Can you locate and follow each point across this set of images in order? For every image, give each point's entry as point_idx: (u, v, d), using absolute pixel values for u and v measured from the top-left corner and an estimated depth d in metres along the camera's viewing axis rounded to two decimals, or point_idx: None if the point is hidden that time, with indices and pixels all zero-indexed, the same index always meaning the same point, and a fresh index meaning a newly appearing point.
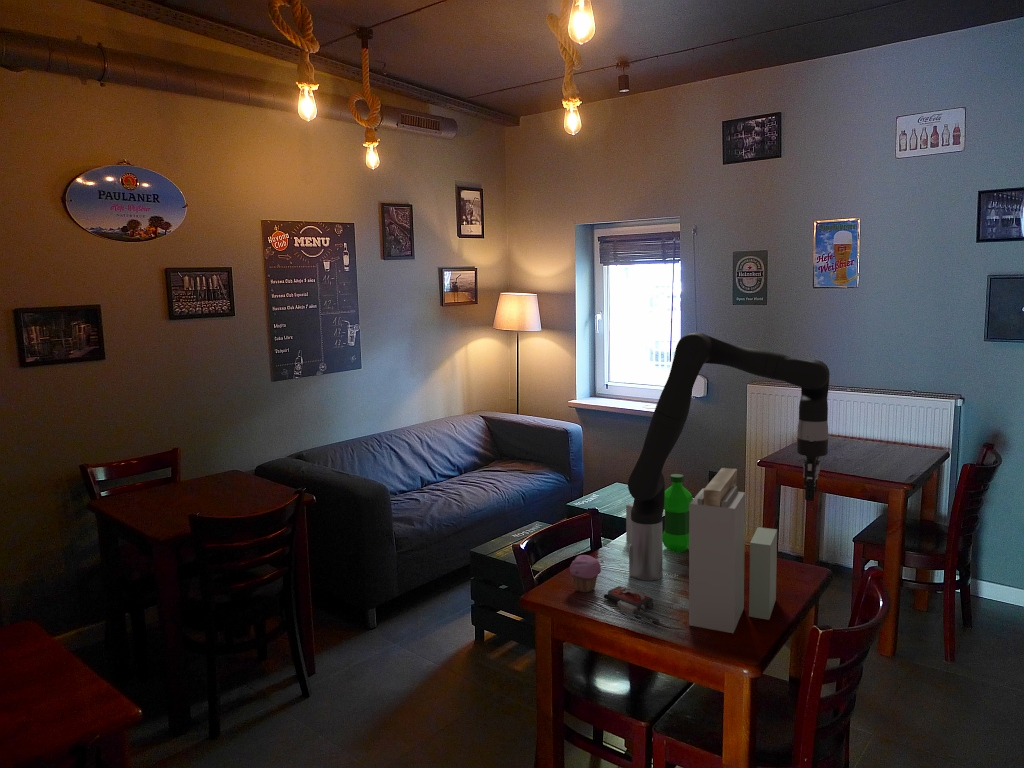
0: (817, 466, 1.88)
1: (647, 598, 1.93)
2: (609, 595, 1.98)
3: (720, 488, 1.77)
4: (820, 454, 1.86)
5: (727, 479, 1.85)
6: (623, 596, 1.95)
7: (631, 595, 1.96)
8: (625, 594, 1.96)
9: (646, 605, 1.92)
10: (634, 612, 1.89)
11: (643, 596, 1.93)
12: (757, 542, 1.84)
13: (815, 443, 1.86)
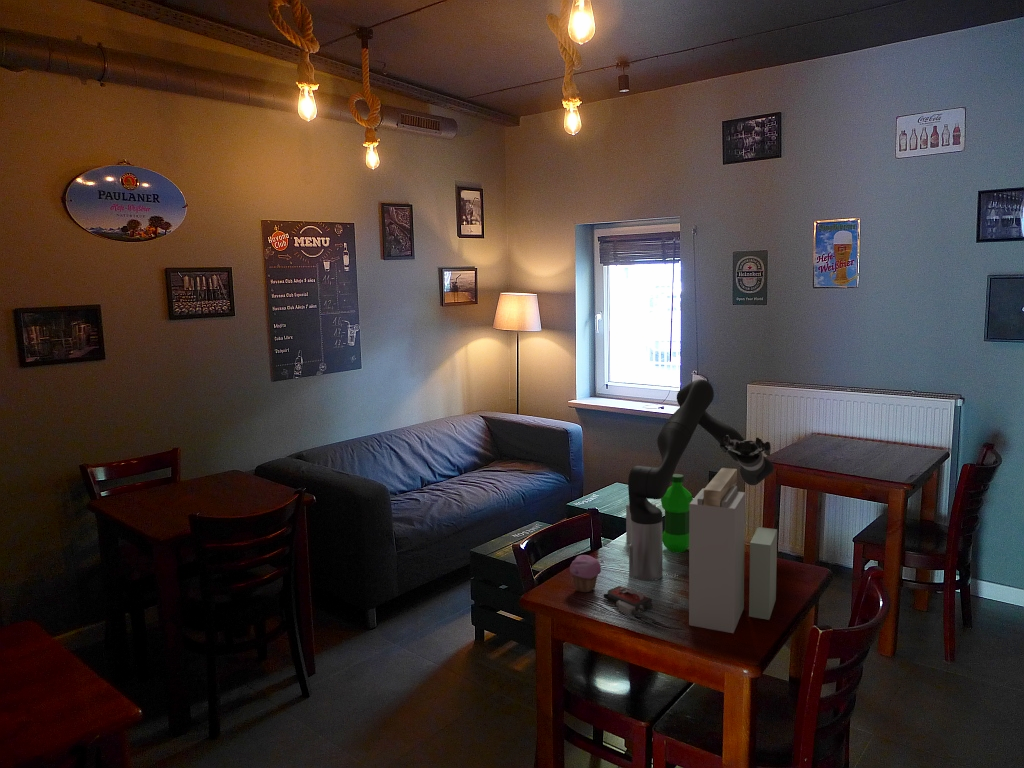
0: None
1: (646, 598, 1.93)
2: (608, 595, 1.98)
3: (720, 488, 1.77)
4: (757, 459, 2.17)
5: (727, 479, 1.85)
6: (622, 596, 1.95)
7: (630, 595, 1.96)
8: (624, 594, 1.96)
9: (645, 605, 1.92)
10: (632, 612, 1.89)
11: (642, 596, 1.93)
12: (757, 542, 1.84)
13: (761, 458, 2.20)
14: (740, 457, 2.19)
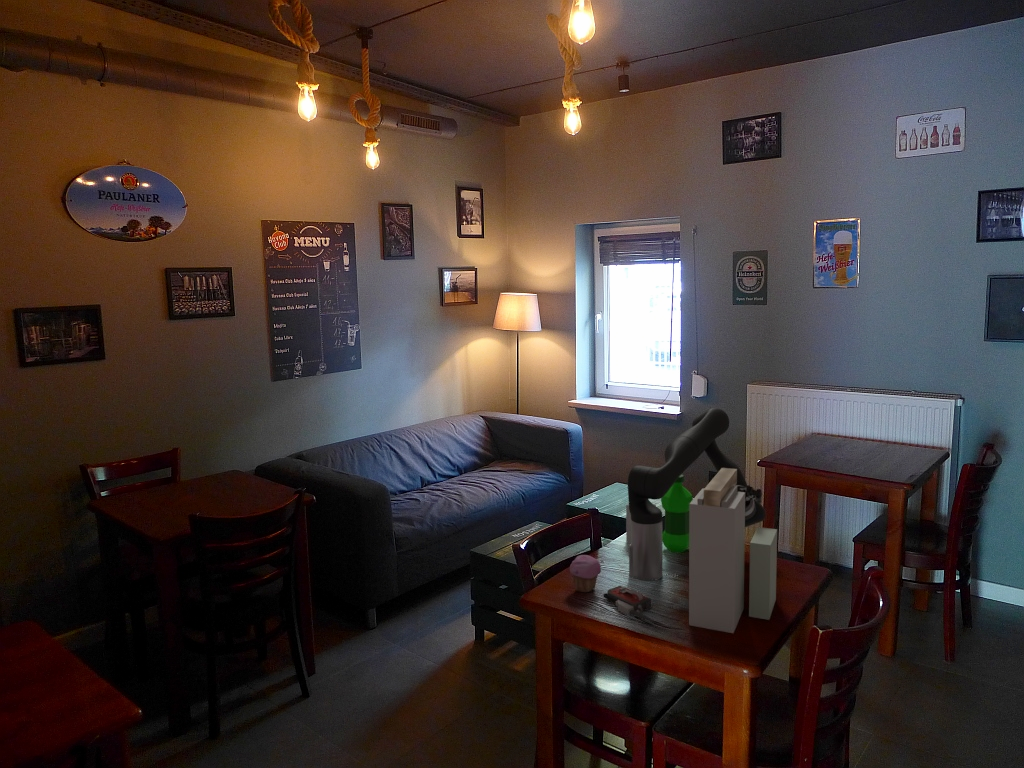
0: None
1: (645, 599, 1.93)
2: (608, 594, 1.98)
3: (720, 488, 1.77)
4: (748, 506, 2.09)
5: (727, 479, 1.85)
6: (621, 596, 1.96)
7: (629, 595, 1.96)
8: (624, 594, 1.96)
9: (644, 605, 1.92)
10: (630, 612, 1.89)
11: (641, 596, 1.93)
12: (757, 542, 1.84)
13: (752, 504, 2.12)
14: None
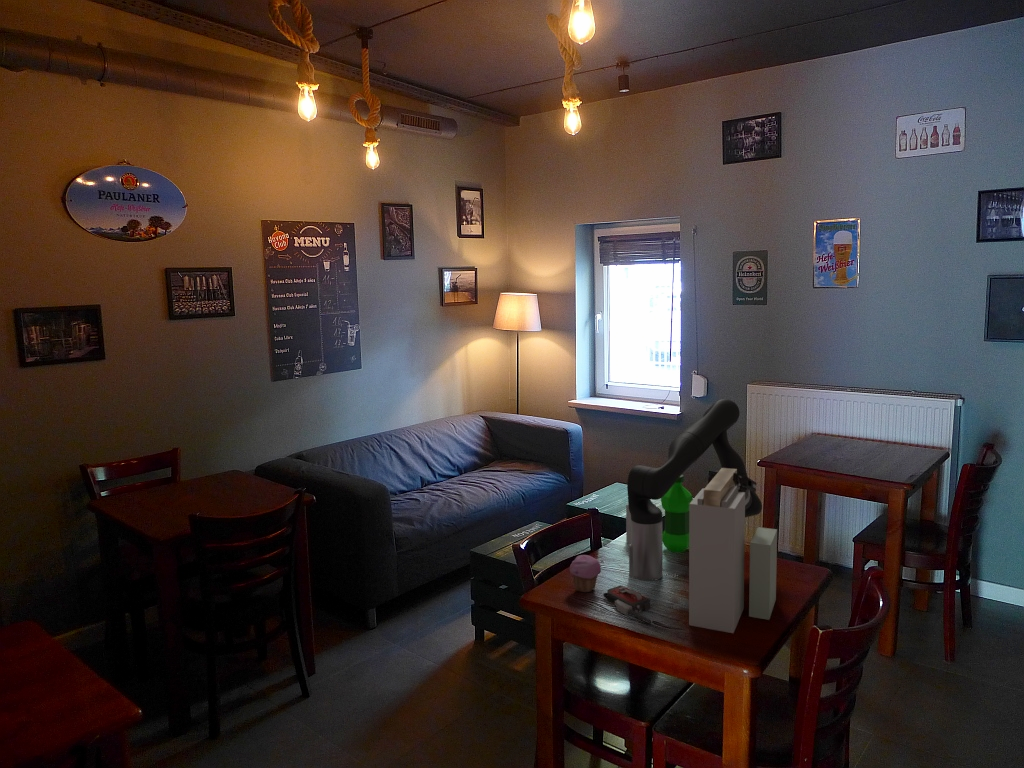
0: None
1: (644, 599, 1.93)
2: (608, 594, 1.99)
3: (720, 488, 1.77)
4: None
5: (727, 479, 1.85)
6: (621, 595, 1.96)
7: (629, 595, 1.96)
8: (623, 594, 1.97)
9: (642, 606, 1.92)
10: (628, 612, 1.90)
11: (640, 596, 1.93)
12: (757, 542, 1.84)
13: (747, 495, 2.03)
14: None
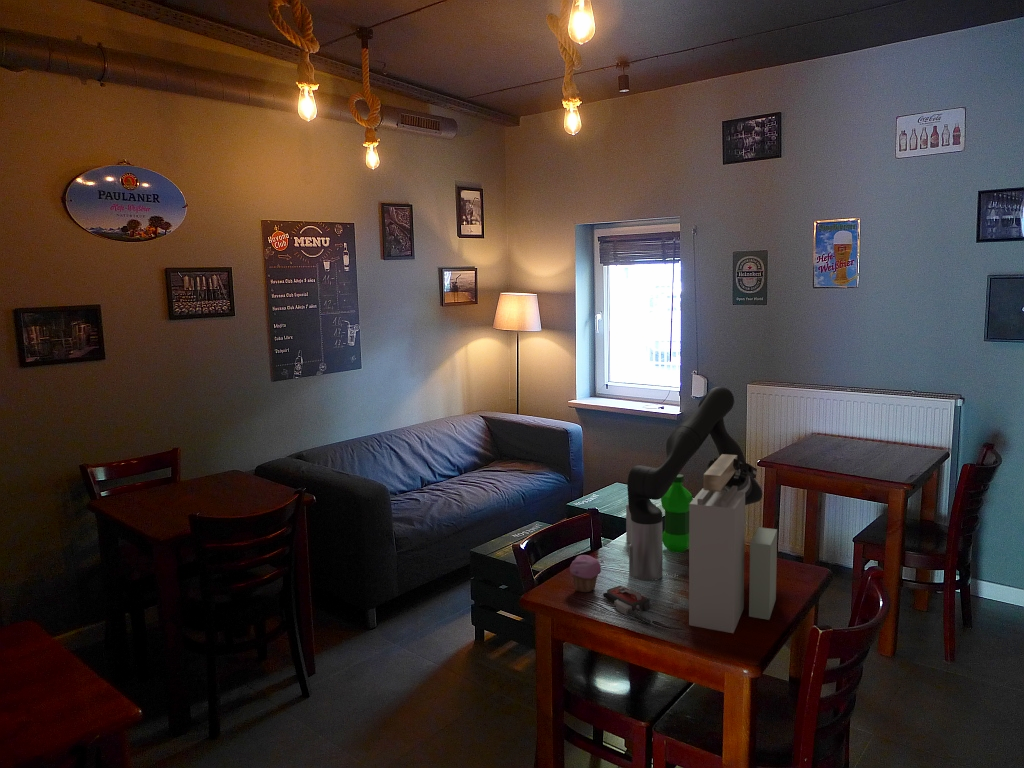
0: None
1: (644, 599, 1.93)
2: (608, 594, 1.99)
3: (720, 473, 1.77)
4: (743, 483, 2.00)
5: (727, 464, 1.85)
6: (620, 595, 1.96)
7: (628, 595, 1.96)
8: (623, 594, 1.97)
9: (642, 606, 1.92)
10: (628, 612, 1.90)
11: (639, 597, 1.93)
12: (757, 542, 1.84)
13: (747, 482, 2.02)
14: None
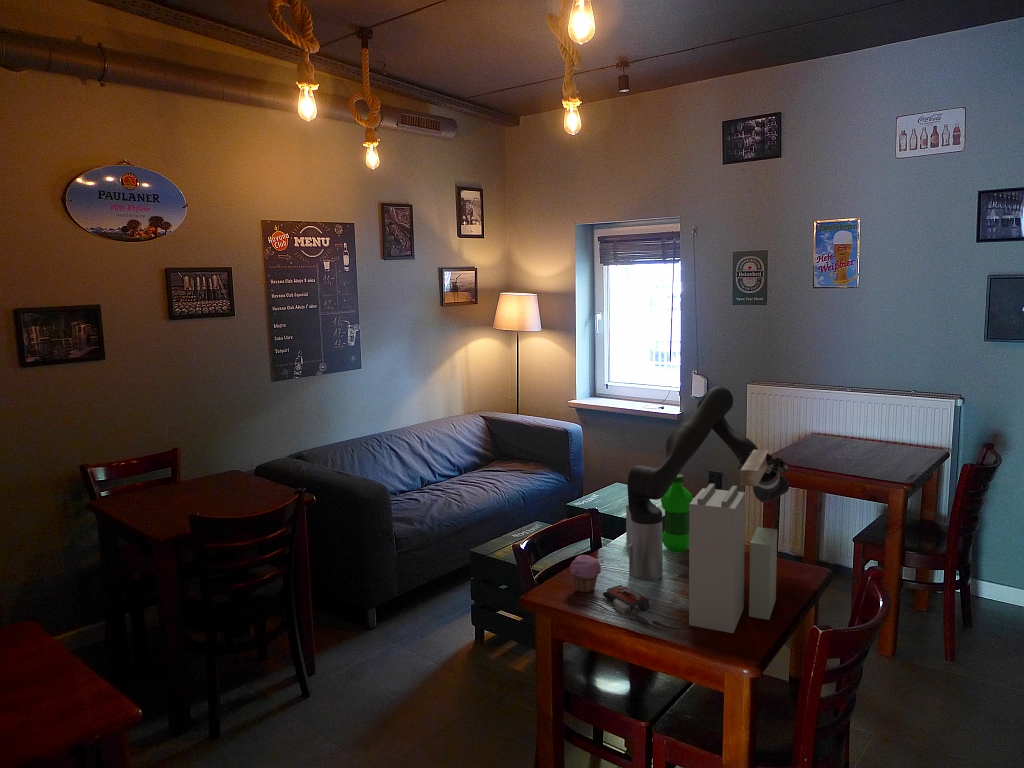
0: None
1: (643, 599, 1.93)
2: (607, 593, 1.99)
3: (757, 468, 1.81)
4: (774, 478, 2.04)
5: (761, 460, 1.89)
6: (620, 595, 1.96)
7: (628, 594, 1.96)
8: (622, 593, 1.97)
9: (641, 605, 1.92)
10: (626, 611, 1.90)
11: (638, 596, 1.93)
12: (757, 542, 1.84)
13: (777, 476, 2.07)
14: None
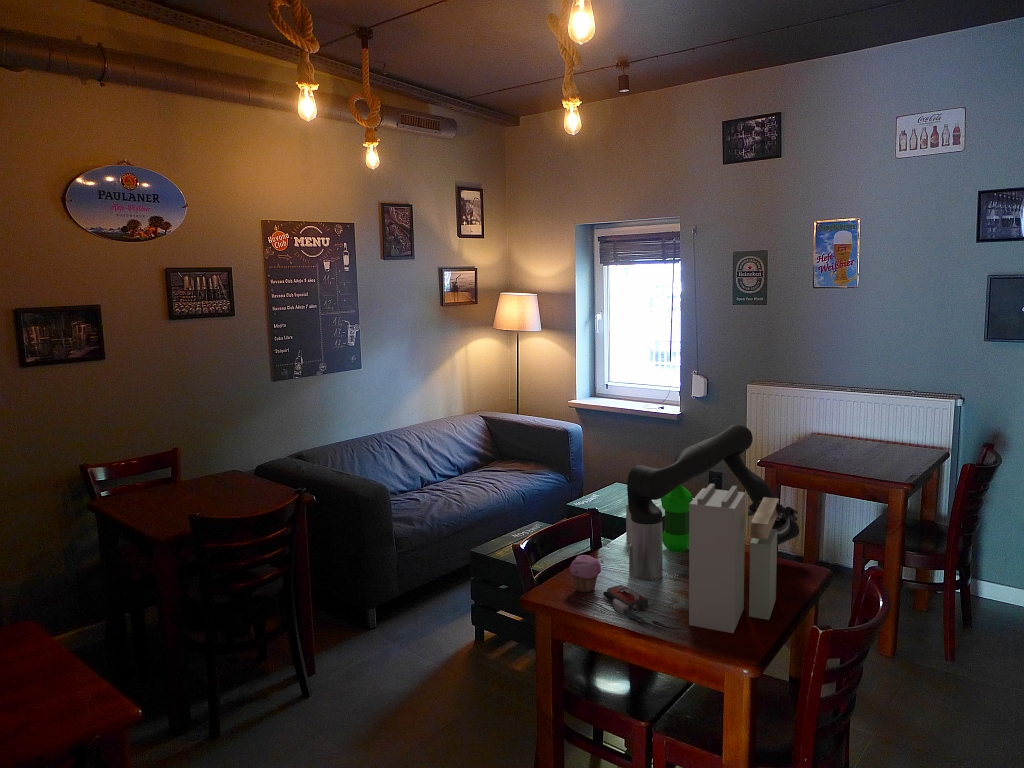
0: None
1: (642, 599, 1.93)
2: (607, 592, 2.00)
3: (767, 521, 1.81)
4: (784, 525, 2.04)
5: (771, 510, 1.89)
6: (619, 595, 1.96)
7: (627, 594, 1.96)
8: (622, 593, 1.97)
9: (639, 606, 1.92)
10: (624, 611, 1.90)
11: (637, 596, 1.93)
12: (757, 542, 1.84)
13: (787, 523, 2.07)
14: None
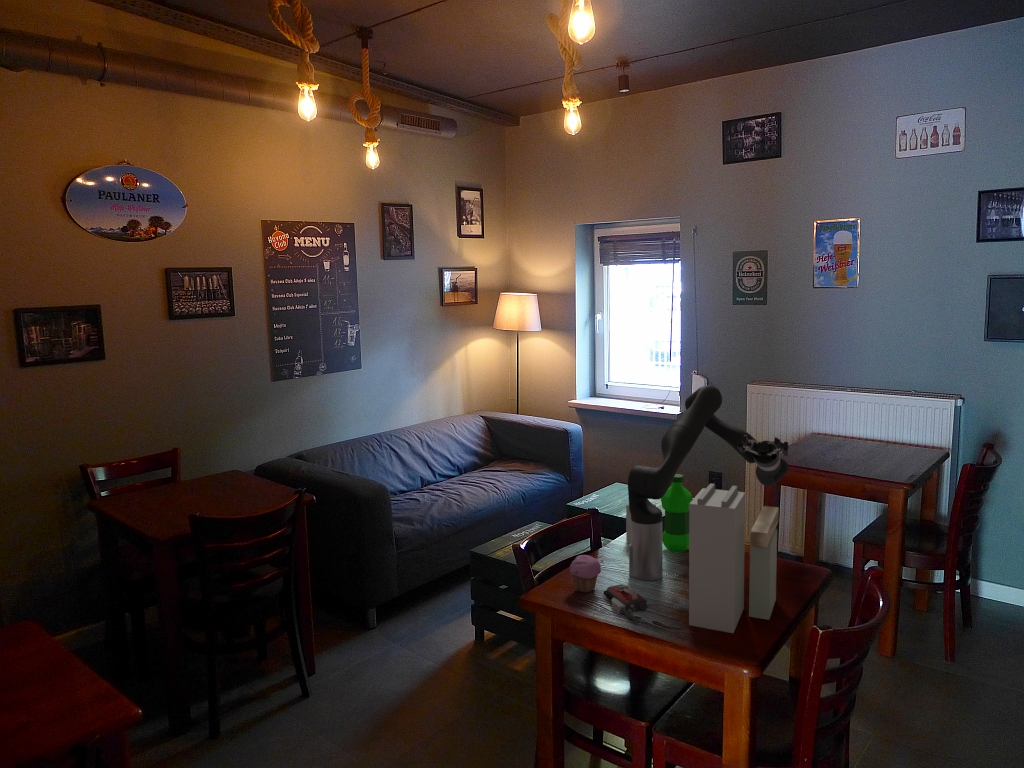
0: None
1: (640, 599, 1.93)
2: (607, 591, 2.00)
3: (766, 530, 1.82)
4: (774, 460, 2.16)
5: (771, 519, 1.90)
6: (618, 594, 1.97)
7: (626, 594, 1.96)
8: (621, 592, 1.98)
9: (637, 605, 1.92)
10: (621, 610, 1.90)
11: (635, 596, 1.93)
12: None
13: (778, 459, 2.19)
14: (757, 457, 2.18)
